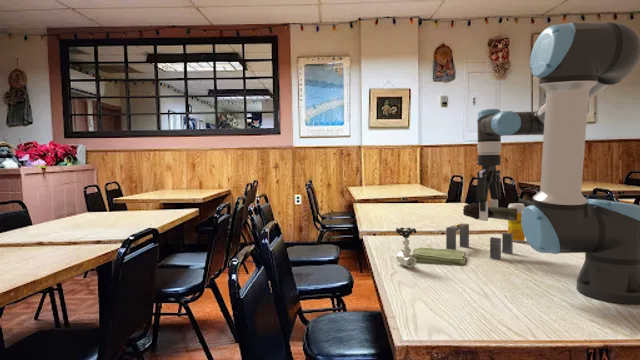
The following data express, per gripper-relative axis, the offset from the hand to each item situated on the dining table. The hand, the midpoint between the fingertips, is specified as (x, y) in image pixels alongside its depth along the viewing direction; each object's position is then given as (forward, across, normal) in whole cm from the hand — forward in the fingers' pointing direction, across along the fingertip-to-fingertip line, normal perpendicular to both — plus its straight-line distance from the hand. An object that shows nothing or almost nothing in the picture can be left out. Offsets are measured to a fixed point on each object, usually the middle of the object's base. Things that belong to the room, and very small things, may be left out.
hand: (488, 218), depth 143 cm
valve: (+13, +33, -12) cm, 37 cm away
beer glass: (+13, -28, 0) cm, 31 cm away
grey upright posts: (+12, 0, -4) cm, 13 cm away
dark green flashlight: (0, 0, 0) cm, 0 cm away
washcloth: (+13, +18, -10) cm, 24 cm away
